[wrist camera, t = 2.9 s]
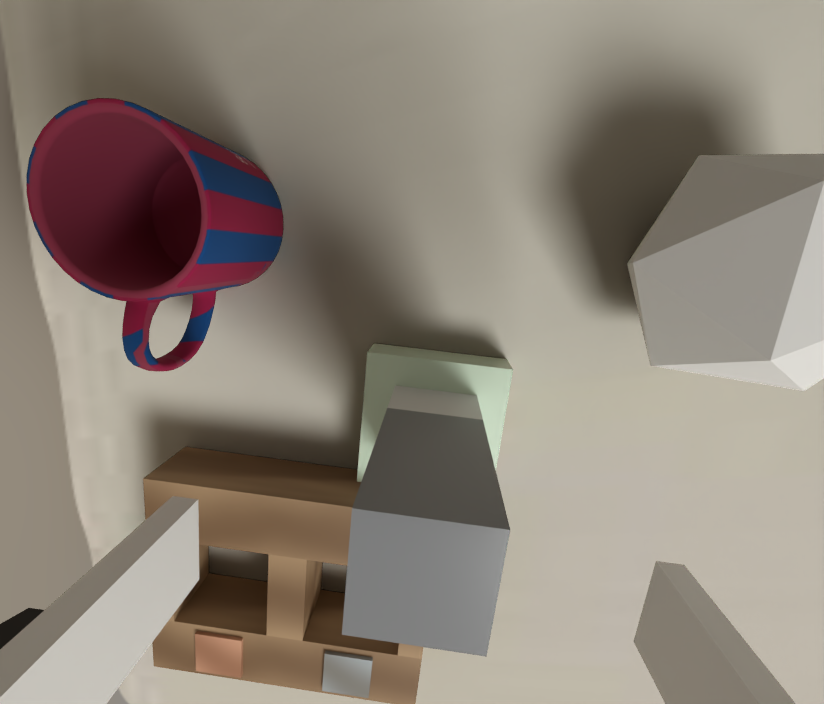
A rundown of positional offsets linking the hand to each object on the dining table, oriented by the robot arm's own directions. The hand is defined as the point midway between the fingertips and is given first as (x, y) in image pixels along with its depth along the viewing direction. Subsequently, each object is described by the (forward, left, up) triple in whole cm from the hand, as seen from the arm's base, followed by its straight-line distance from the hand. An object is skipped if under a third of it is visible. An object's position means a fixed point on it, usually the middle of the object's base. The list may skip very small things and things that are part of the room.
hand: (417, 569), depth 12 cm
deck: (0, 0, -11) cm, 11 cm away
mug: (-8, -12, -11) cm, 18 cm away
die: (-9, +12, -11) cm, 19 cm away
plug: (0, 0, -9) cm, 9 cm away
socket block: (+10, -6, -11) cm, 16 cm away
